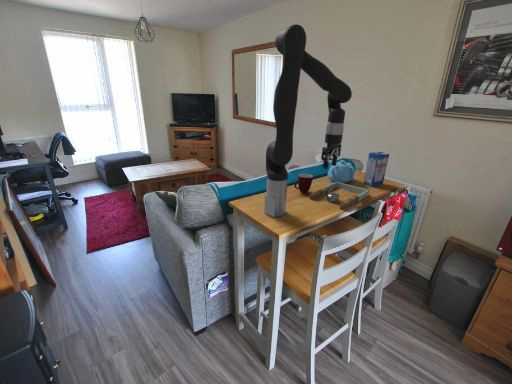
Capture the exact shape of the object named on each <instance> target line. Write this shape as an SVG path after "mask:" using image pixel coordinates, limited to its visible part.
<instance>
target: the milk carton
mask: <svg viewBox="0 0 512 384" xmlns="http://www.w3.org/2000/svg"><path fill="white" fill-rule="evenodd" d="M389 157H390V153H387V152H382V151H375V152H369V153H368V158H367V162H366V163H367V164H366V169H365V175H364V180H363V185H365V186H367V185H368V187H370V188H373V187H378V186H379V187H381V186H383V185H384V181H385V176H386V171H387V167H388V161H389V159H390V158H389Z"/></svg>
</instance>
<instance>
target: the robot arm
mask: <svg viewBox="0 0 512 384" xmlns="http://www.w3.org/2000/svg"><path fill="white" fill-rule="evenodd" d="M274 42H275V48H276V49H277V52H278V53H279V54H281V55H282V56H283V66H282V69H281V73H280V76H279V79H278V81H277V83H276V86H275V89H274V96H273V104H272V105H273V107H272V109H273V111H272V112H273V117H274V118H273V119H274V123H275V128H276V135H275V140H273V141H272V142H270V143H269V144H268V145H267V148H266V150H265V151H266V152H265V171H266V176H267V177H266V194H264V214H265V215H267V216H270V217H272V218H276V217H282V216H283V217H284V216H285V214H286V206H287V205H286V204H287V195H288V193H287V192H288V183H289V182H288V181H289V180H288V179H289V172H288V171H287V168H286V167H287V166H286V165H288V164H289V163H290V161H291V160H292V158H293V150H294V148H293V147H294V127H295V119H296V111H297V105H298V104H297V103H298V97H299V96H298V94H299V85H300V77H301V72H302V71H303V72H304V73H305V74H306V75H307V76H308V77H309V78H310V79H311V80H312V81H313V82H314V83H315V84H316V85H317V86H318V87H319V88H320V89H322V90H323V91H325V92H327V93H328V94H327V97H326V99H327V100H326V101H327V108H328V109H327V110H328V116H327V117H328V118H327V123H326V127H325V128H326V129H325V137H324V143H325V144H326V146H323V147H322V150H321V155H320V156H321V159H320V160H321V161H323V163H322V169H325V170H328V168H329V164H330V163H329V162H330V161H329V160H330V159H331V162H332V164H331V165H333V166H336V163H337V162H338V159H339V157H341V151H342V142H343V137H344V136H343V133H344V126H345V125H344V124H345V123H344V122H345V116H346V111H345V110H344V109H343V108H342V105H341V104H345V103H346V104H347V102H349V101H350V100H351V98H352V96H353V95H352V94H353V93H352V90H351V88H350V86H349V84H347V83H346V82H344V81H343V80H341V79H340V78H338V77H337V76H336V75H335V74H334V72H332V71H331V69H330V68H329V67H328V66H327V65H326V64H324V63H323V62H322V61H320V60H319V59H317V58H315V57H314V56H312V55H311V54H310V53H308V52H307V51H306V47H307V46H306V45H307V33H306V30H305V29H304V27H303V26H302V25H301V24H297V23H295V24H291V25H289V26H286V27H284V28H282V29H281V30H280V31H278V33H277V34H276V36H275V41H274ZM301 70H302V71H301Z"/></svg>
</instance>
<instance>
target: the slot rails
mask: <svg viewBox="0 0 512 384" xmlns="http://www.w3.org/2000/svg"><path fill="white" fill-rule="evenodd" d="M329 191H330V190H329V188H328V187H325V186H324V187H323V188H321V189H318V190H316V191H314V192H312V193H310V197H309V200H312V201H315V200H317V199H319V198H320V197H323V196H325V195H328V193H330V192H329ZM357 200H358V195H356V194H354V195H353V196H350V197H349V198H348V199H346V200H344V201H342V202H340V205H339V210H342V211H344V210H346V209H348V208H350V207H351V206H352V205H354V204H356V203H357V202H358V201H357Z"/></svg>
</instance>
